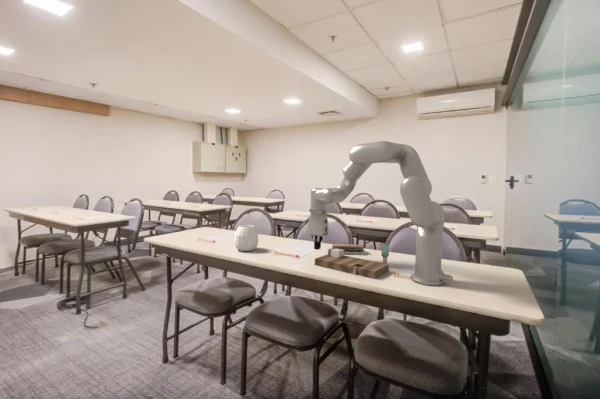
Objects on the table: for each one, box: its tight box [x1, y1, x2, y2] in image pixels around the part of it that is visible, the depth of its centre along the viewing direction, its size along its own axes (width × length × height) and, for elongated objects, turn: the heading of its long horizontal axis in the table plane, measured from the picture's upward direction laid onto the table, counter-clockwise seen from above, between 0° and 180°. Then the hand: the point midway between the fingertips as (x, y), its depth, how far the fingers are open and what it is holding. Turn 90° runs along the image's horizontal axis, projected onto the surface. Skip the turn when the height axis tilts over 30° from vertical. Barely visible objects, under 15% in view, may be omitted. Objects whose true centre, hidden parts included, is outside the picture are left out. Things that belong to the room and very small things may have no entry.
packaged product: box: [331, 243, 367, 256], centre depth 165 cm, size 18×5×10 cm
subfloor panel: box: [314, 253, 390, 280], centre depth 137 cm, size 30×15×3 cm, turn 51°
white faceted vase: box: [234, 224, 259, 252], centre depth 170 cm, size 13×13×14 cm
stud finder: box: [327, 247, 345, 258], centre depth 146 cm, size 6×5×3 cm
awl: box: [380, 243, 390, 264], centre depth 139 cm, size 3×3×10 cm
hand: (317, 248), depth 153 cm, fingers closed
